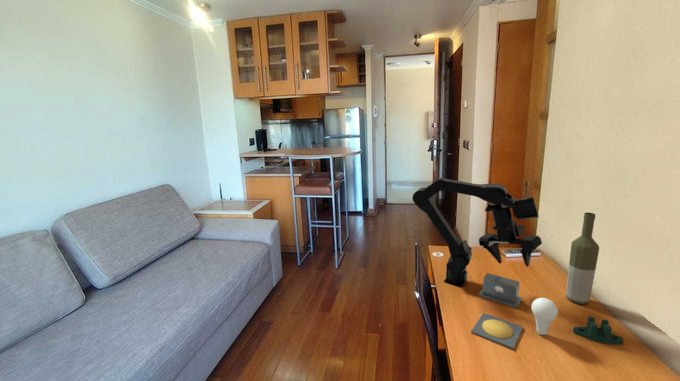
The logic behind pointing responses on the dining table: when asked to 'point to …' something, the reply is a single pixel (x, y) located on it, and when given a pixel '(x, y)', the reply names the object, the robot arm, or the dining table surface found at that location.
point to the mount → (598, 332)
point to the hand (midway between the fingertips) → (513, 264)
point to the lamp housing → (501, 290)
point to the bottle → (582, 263)
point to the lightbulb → (543, 314)
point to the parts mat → (497, 330)
